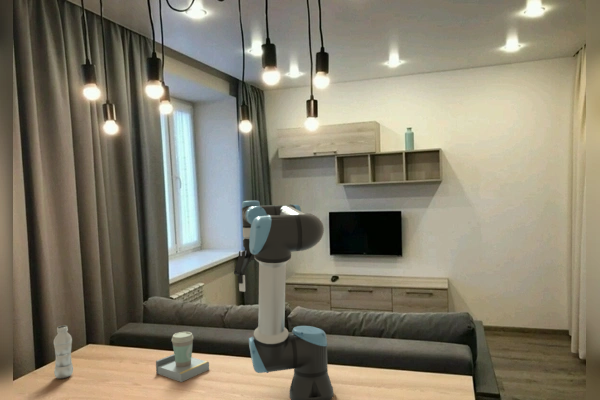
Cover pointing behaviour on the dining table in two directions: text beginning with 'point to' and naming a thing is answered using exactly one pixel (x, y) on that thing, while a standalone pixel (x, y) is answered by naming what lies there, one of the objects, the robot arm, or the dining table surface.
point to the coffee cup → (182, 348)
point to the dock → (180, 368)
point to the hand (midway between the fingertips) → (253, 288)
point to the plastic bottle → (63, 353)
